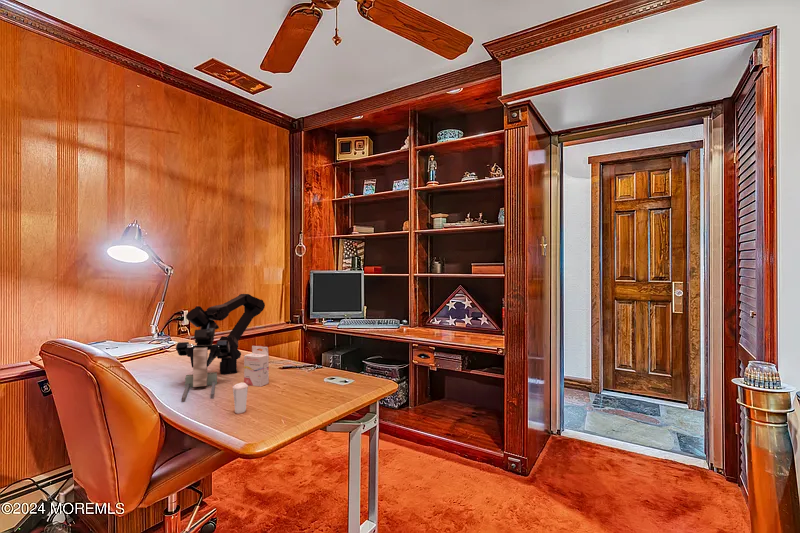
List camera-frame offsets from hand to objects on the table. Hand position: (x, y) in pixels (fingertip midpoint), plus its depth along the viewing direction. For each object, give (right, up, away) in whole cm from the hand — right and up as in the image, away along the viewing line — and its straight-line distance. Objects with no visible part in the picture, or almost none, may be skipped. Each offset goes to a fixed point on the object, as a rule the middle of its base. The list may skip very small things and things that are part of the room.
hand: (199, 366), depth 150 cm
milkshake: (+25, -8, -24) cm, 36 cm away
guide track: (+2, -8, -3) cm, 9 cm away
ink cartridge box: (+19, -9, +6) cm, 22 cm away
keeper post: (0, -7, +1) cm, 7 cm away
